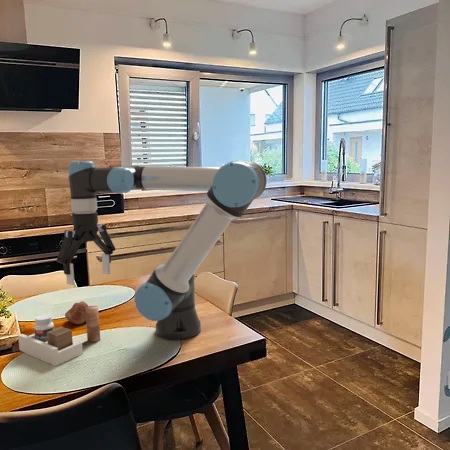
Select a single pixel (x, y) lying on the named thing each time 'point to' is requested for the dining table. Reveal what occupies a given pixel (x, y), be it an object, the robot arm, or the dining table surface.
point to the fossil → (77, 313)
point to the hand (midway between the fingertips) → (89, 278)
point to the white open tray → (48, 350)
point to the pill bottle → (43, 327)
